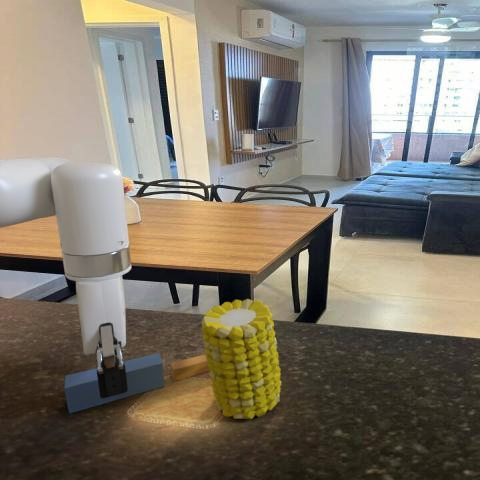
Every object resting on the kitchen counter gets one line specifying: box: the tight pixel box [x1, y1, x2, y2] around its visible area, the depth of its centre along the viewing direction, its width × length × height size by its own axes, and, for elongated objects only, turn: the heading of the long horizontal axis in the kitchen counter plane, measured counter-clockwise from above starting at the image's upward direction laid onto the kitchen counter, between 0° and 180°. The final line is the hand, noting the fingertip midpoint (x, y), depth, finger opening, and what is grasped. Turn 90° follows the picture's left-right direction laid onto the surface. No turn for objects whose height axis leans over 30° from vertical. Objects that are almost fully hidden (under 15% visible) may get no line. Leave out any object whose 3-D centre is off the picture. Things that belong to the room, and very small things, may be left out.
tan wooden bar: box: [170, 353, 210, 382], centre depth 61 cm, size 12×2×2 cm, turn 120°
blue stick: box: [64, 352, 165, 414], centre depth 54 cm, size 12×3×4 cm, turn 120°
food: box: [200, 298, 282, 420], centre depth 52 cm, size 15×12×10 cm
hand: (112, 373), depth 54 cm, fingers open, 9 cm apart
